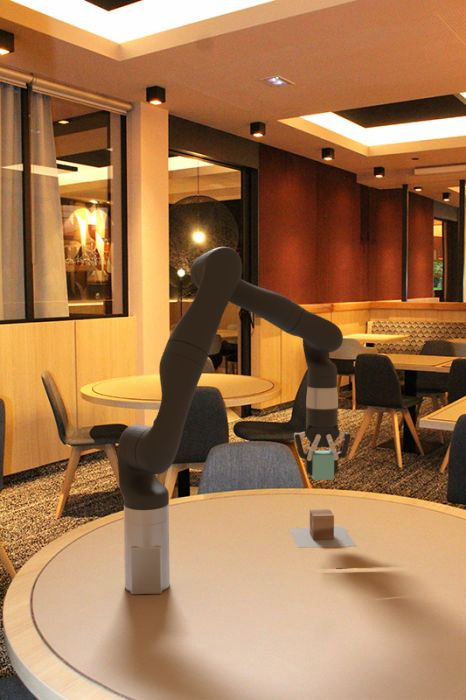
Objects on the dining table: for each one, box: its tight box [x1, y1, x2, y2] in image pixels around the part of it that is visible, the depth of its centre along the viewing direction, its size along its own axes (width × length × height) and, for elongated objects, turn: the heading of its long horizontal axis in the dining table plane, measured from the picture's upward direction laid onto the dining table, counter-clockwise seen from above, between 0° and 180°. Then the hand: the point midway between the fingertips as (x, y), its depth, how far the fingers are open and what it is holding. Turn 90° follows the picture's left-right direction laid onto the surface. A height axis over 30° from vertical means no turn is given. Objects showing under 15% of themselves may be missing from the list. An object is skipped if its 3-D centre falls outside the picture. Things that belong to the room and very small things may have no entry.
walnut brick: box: [309, 508, 335, 540], centre depth 173 cm, size 5×5×6 cm
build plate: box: [289, 526, 357, 549], centre depth 174 cm, size 14×14×1 cm
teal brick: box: [310, 449, 335, 481], centre depth 172 cm, size 5×5×6 cm
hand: (321, 474), depth 172 cm, fingers closed on teal brick, 5 cm apart
